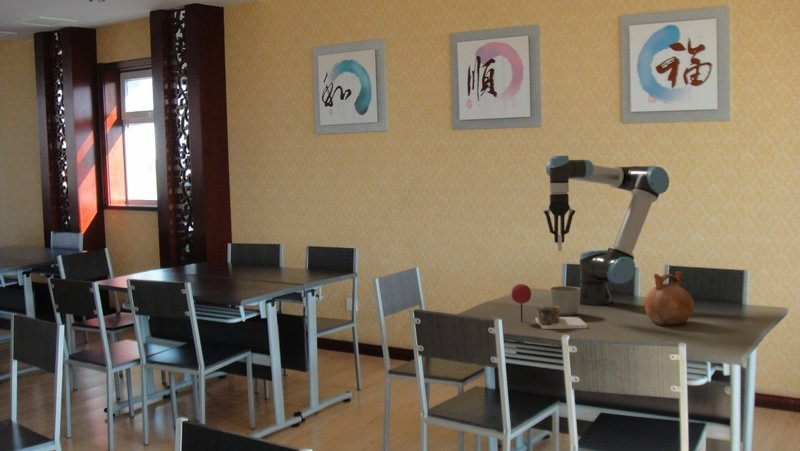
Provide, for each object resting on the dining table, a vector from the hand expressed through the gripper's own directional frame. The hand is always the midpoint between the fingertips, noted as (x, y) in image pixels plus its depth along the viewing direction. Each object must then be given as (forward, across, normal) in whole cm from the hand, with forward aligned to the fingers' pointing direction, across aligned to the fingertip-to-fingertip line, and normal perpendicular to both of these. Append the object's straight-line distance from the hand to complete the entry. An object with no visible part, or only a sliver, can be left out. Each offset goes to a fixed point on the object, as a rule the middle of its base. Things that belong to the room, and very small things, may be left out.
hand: (559, 250), depth 336 cm
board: (+26, +4, +20) cm, 34 cm away
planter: (+27, -2, +2) cm, 27 cm away
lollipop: (+27, +18, +14) cm, 35 cm away
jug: (+27, -38, +22) cm, 51 cm away
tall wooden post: (+26, +10, +20) cm, 35 cm away
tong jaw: (+25, +8, +21) cm, 34 cm away
